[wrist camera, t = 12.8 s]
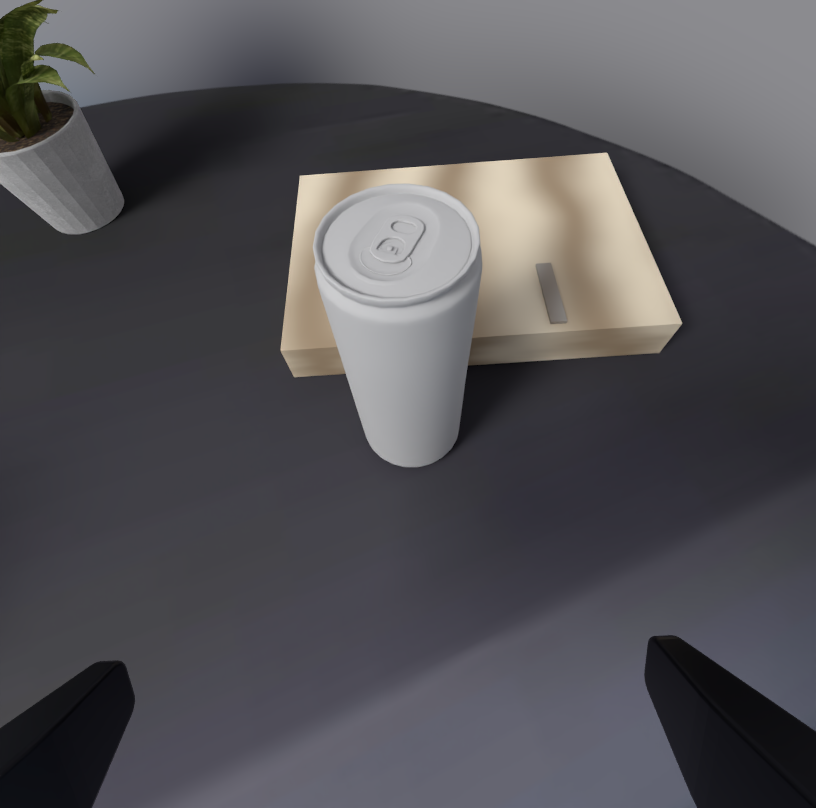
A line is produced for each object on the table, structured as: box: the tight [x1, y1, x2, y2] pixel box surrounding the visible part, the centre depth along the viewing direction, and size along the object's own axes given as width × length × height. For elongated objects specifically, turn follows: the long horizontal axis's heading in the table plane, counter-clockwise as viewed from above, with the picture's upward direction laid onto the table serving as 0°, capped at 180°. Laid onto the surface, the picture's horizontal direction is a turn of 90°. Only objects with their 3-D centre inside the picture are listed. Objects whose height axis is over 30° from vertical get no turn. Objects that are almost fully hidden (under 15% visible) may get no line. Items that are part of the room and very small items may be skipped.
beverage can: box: [313, 184, 482, 467], centre depth 17 cm, size 5×5×12 cm
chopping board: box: [281, 153, 682, 377], centre depth 26 cm, size 20×14×3 cm
